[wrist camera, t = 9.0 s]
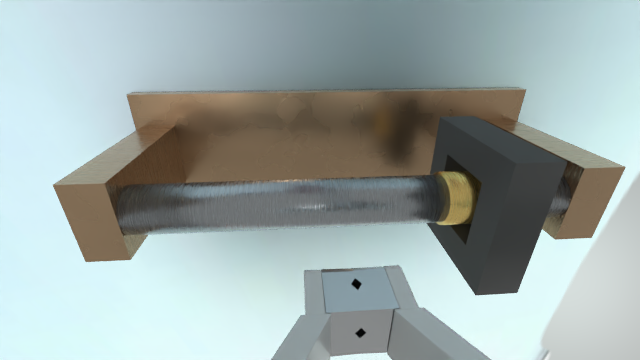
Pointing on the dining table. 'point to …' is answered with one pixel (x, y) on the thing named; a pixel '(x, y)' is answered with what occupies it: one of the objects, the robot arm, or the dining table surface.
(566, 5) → the dining table surface
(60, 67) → the dining table surface
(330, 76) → the dining table surface
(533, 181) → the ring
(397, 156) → the rail
